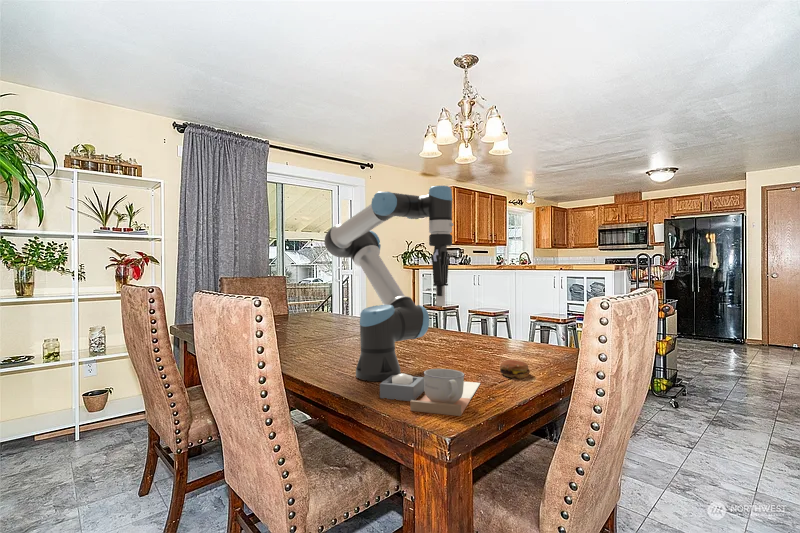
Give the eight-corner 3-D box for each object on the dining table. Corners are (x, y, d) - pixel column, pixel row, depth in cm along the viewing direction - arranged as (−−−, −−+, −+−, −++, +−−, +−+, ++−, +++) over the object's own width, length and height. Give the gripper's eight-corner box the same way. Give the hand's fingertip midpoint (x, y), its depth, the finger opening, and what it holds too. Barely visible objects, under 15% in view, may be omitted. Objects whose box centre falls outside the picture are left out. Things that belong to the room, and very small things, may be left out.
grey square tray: (379, 398, 117) (379, 383, 117) (392, 387, 126) (392, 374, 126) (413, 401, 113) (413, 386, 113) (424, 390, 123) (424, 377, 123)
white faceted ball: (389, 396, 118) (388, 375, 118) (396, 390, 124) (396, 370, 124) (409, 398, 116) (408, 377, 116) (415, 392, 121) (415, 371, 121)
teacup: (422, 395, 117) (422, 367, 117) (460, 394, 117) (460, 366, 117) (427, 413, 103) (427, 381, 103) (471, 412, 104) (470, 379, 103)
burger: (516, 370, 145) (516, 357, 145) (535, 376, 136) (535, 362, 136) (493, 373, 141) (493, 360, 141) (511, 380, 132) (511, 366, 132)
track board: (410, 410, 106) (410, 401, 106) (439, 380, 133) (439, 373, 133) (460, 416, 102) (460, 406, 102) (480, 383, 129) (480, 376, 129)
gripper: (445, 232, 128) (446, 308, 129) (457, 234, 140) (457, 304, 141) (423, 233, 131) (423, 307, 132) (435, 235, 143) (436, 303, 144)
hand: (440, 305), depth 136 cm, fingers closed
